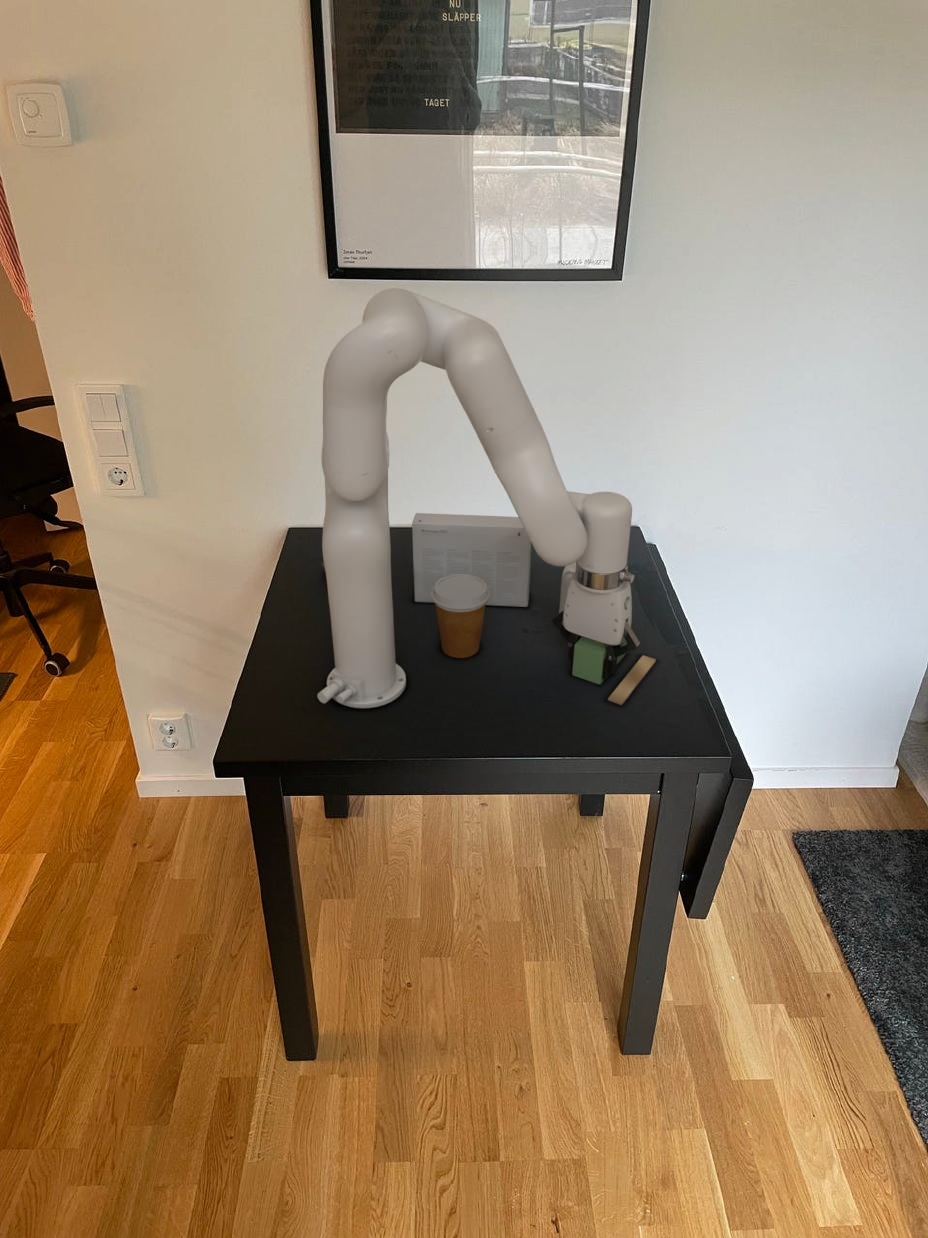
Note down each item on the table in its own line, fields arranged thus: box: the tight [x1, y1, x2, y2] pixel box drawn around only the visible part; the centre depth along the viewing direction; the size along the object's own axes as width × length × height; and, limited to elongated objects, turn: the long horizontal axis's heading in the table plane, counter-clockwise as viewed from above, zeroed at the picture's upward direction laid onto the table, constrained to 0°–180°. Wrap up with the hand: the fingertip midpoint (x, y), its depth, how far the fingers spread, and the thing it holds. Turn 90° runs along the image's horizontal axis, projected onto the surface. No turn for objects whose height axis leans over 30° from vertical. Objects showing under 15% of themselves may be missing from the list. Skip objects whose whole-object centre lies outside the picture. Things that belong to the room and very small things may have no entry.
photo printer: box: [558, 562, 576, 614], centre depth 159 cm, size 10×4×12 cm, turn 156°
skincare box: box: [411, 512, 532, 608], centre depth 163 cm, size 21×5×16 cm, turn 84°
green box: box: [571, 636, 626, 685], centre depth 148 cm, size 5×10×6 cm, turn 148°
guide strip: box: [607, 655, 657, 706], centre depth 146 cm, size 14×2×1 cm, turn 148°
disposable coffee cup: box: [431, 574, 489, 659], centre depth 150 cm, size 10×10×12 cm
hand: (591, 668), depth 147 cm, fingers closed on green box, 5 cm apart
